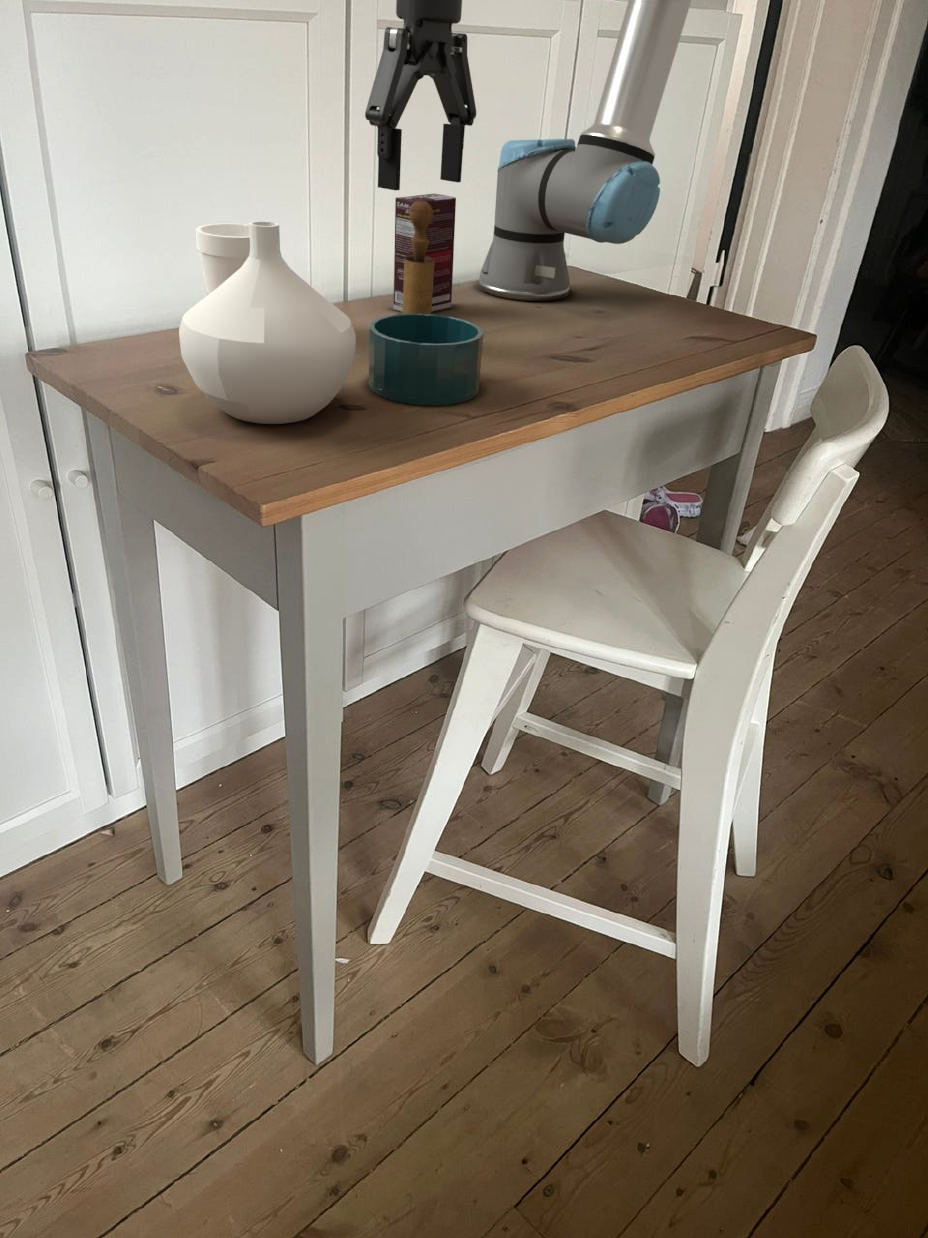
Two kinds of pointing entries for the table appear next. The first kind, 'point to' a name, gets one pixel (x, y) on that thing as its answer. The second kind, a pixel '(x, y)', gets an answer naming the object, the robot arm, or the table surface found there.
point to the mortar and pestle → (418, 264)
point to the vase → (267, 340)
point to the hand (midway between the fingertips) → (420, 184)
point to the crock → (424, 358)
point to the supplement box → (438, 246)
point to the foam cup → (222, 251)
